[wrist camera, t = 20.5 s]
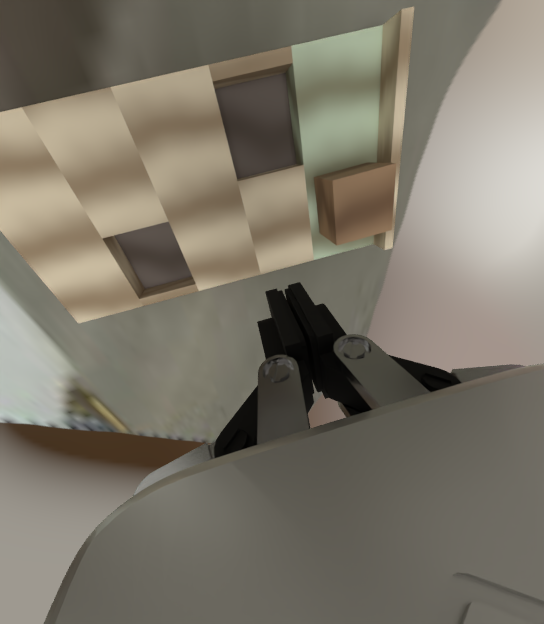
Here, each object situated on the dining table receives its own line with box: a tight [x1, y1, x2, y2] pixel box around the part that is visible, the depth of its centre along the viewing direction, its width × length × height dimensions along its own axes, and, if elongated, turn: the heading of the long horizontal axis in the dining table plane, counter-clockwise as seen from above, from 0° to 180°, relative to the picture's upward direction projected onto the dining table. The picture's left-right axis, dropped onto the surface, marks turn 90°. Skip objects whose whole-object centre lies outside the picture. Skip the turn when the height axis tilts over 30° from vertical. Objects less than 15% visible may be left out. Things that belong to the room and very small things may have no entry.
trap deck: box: [0, 7, 414, 323], centre depth 25 cm, size 19×39×6 cm, turn 102°
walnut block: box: [314, 162, 396, 246], centre depth 25 cm, size 6×6×5 cm
